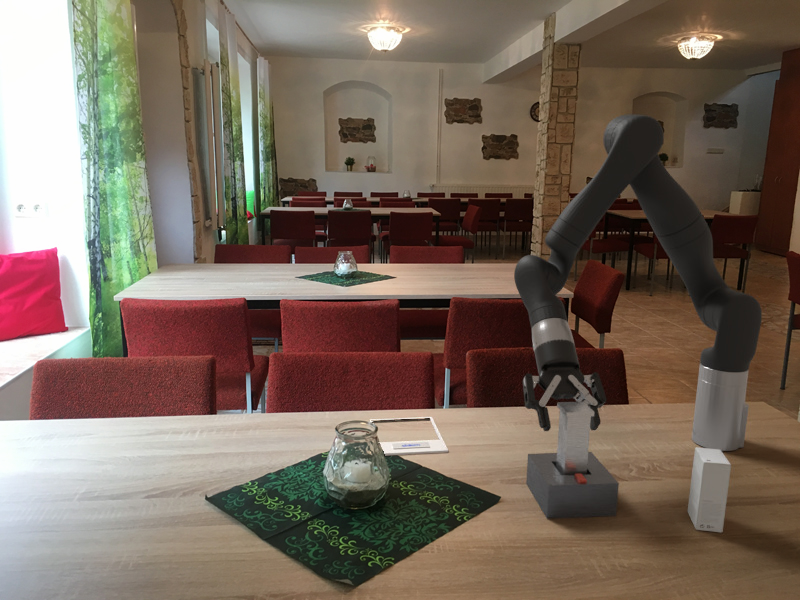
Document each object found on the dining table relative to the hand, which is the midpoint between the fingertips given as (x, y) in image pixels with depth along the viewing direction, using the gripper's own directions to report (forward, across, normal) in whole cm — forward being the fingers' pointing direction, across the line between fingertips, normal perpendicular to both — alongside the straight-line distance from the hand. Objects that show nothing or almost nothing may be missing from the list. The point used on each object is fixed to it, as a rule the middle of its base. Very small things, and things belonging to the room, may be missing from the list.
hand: (571, 429), depth 111 cm
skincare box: (+16, +20, +2) cm, 26 cm away
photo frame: (-10, -26, +30) cm, 41 cm away
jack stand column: (+10, 0, +8) cm, 13 cm away
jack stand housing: (+10, 0, +8) cm, 13 cm away
